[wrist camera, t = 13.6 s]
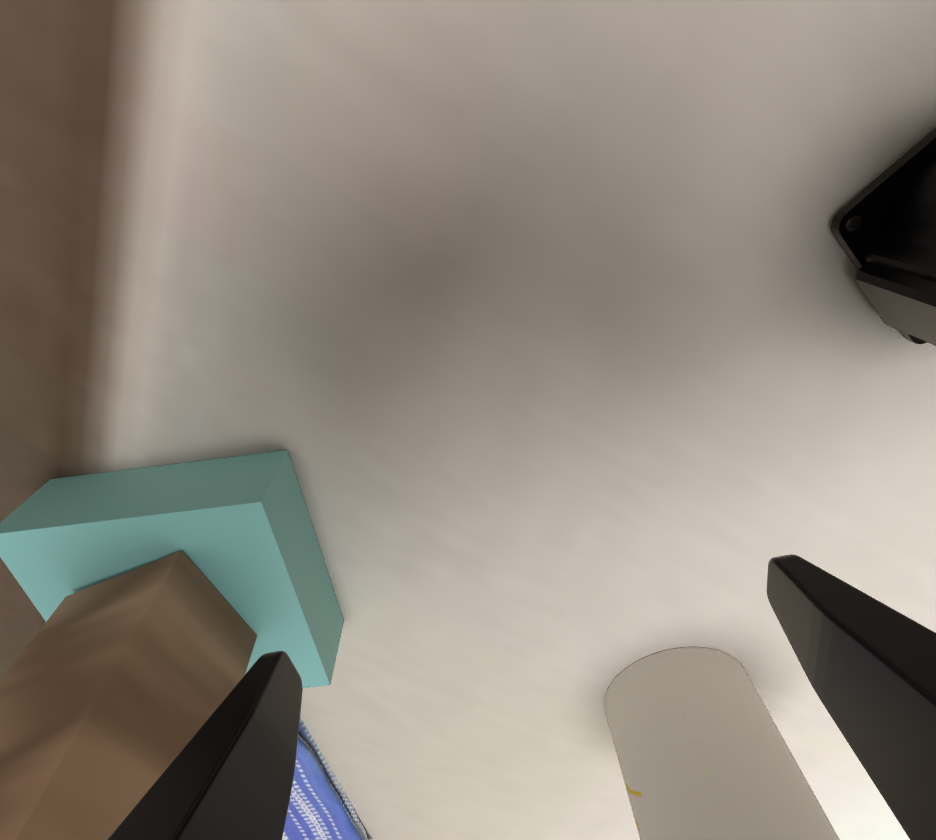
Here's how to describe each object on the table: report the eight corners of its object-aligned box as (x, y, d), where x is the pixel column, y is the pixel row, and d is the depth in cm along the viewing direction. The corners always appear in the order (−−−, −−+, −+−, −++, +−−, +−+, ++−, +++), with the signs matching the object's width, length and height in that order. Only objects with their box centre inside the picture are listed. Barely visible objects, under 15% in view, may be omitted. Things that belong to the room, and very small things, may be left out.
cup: (574, 706, 30) (642, 1010, 20) (683, 625, 28) (831, 931, 17) (668, 754, 33) (773, 1047, 22) (777, 685, 30) (956, 983, 20)
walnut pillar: (181, 550, 19) (-153, 1135, 8) (257, 635, 22) (82, 1185, 10) (65, 596, 20) (-408, 1210, 8) (151, 675, 22) (-130, 1243, 11)
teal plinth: (290, 444, 22) (261, 502, 19) (345, 613, 27) (329, 685, 23) (57, 473, 22) (-15, 535, 19) (152, 635, 27) (108, 709, 24)
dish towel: (-110, 740, 31) (-160, 794, 28) (284, 672, 29) (269, 722, 27) (58, 877, 39) (31, 928, 36) (374, 830, 37) (369, 880, 35)
